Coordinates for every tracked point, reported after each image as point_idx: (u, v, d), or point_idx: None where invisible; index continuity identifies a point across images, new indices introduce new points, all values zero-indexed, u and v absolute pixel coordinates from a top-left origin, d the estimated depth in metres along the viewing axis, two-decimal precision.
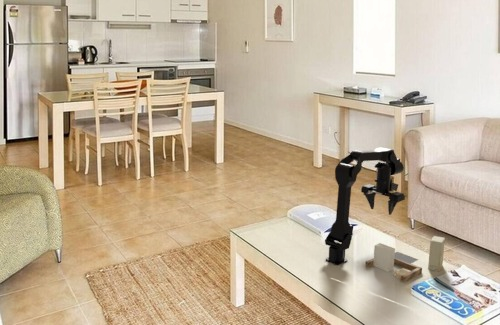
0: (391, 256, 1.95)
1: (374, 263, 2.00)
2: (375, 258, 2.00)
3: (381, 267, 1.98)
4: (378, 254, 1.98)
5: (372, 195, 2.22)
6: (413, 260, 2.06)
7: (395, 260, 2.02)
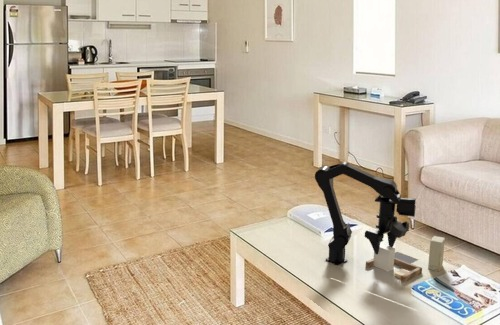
0: (391, 256, 1.95)
1: (374, 263, 2.00)
2: (375, 258, 2.00)
3: (381, 267, 1.98)
4: (378, 254, 1.98)
5: (392, 233, 2.00)
6: (413, 260, 2.06)
7: (395, 260, 2.02)
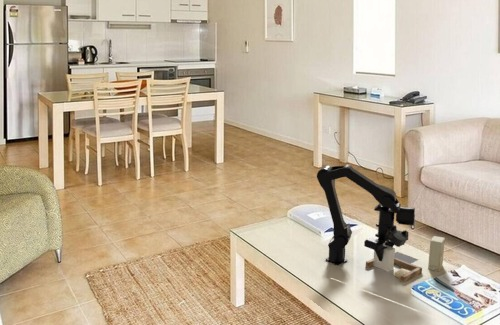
0: (391, 256, 1.95)
1: (374, 263, 2.00)
2: (375, 258, 2.00)
3: (381, 267, 1.98)
4: None
5: (388, 243, 1.99)
6: (413, 260, 2.06)
7: (395, 260, 2.02)
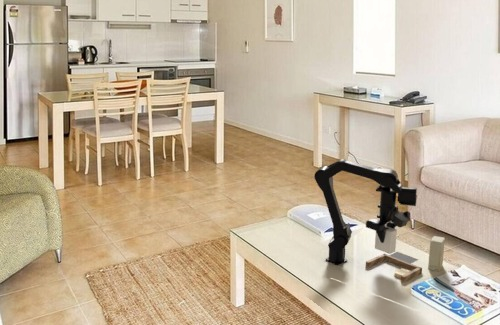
0: (393, 237, 1.93)
1: (376, 245, 1.98)
2: (377, 240, 1.98)
3: (383, 249, 1.96)
4: None
5: (389, 224, 1.97)
6: (413, 260, 2.06)
7: (395, 260, 2.02)
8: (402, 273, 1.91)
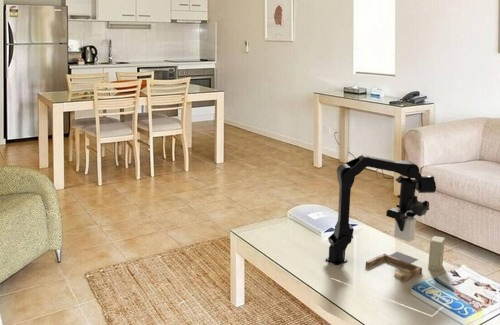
0: (412, 225, 2.01)
1: (395, 233, 2.06)
2: (396, 228, 2.05)
3: (402, 237, 2.04)
4: None
5: (408, 214, 2.05)
6: (413, 260, 2.06)
7: (395, 260, 2.02)
8: (402, 273, 1.91)
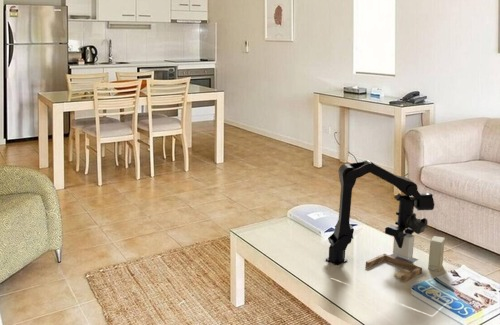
0: (410, 243, 2.03)
1: (394, 250, 2.08)
2: (395, 245, 2.07)
3: (401, 254, 2.06)
4: None
5: (407, 231, 2.06)
6: (413, 260, 2.06)
7: (395, 260, 2.02)
8: (402, 273, 1.91)
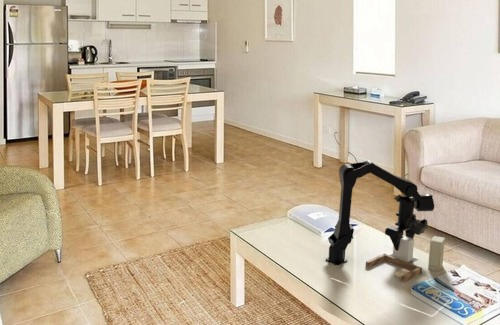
0: (410, 246, 2.03)
1: (394, 253, 2.08)
2: None
3: (400, 257, 2.06)
4: None
5: (410, 230, 2.08)
6: (413, 260, 2.06)
7: (395, 260, 2.02)
8: (402, 273, 1.91)
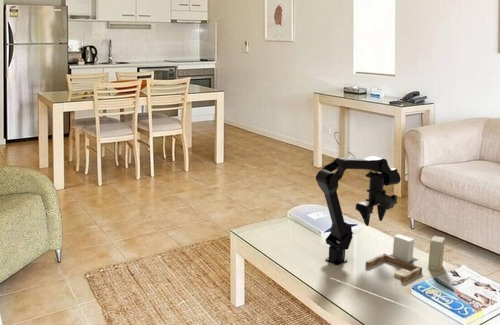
0: (410, 246, 2.03)
1: (394, 253, 2.08)
2: (395, 248, 2.08)
3: (400, 257, 2.06)
4: (398, 245, 2.06)
5: (382, 206, 2.13)
6: (413, 260, 2.06)
7: (395, 260, 2.02)
8: (402, 273, 1.91)
